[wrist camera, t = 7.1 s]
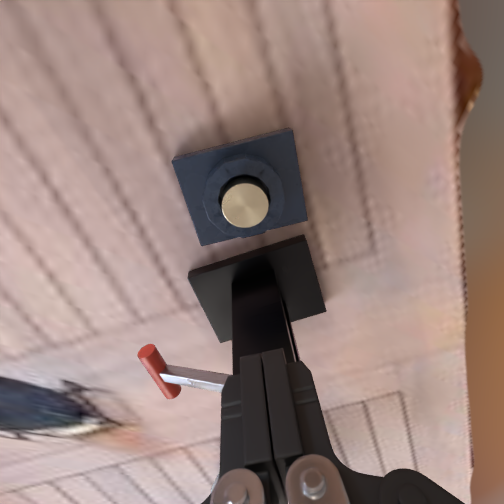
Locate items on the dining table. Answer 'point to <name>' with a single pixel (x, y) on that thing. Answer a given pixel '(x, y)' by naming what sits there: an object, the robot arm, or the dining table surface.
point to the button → (244, 202)
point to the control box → (236, 166)
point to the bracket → (260, 297)
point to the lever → (178, 374)
